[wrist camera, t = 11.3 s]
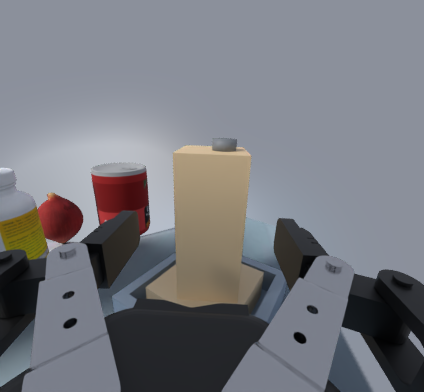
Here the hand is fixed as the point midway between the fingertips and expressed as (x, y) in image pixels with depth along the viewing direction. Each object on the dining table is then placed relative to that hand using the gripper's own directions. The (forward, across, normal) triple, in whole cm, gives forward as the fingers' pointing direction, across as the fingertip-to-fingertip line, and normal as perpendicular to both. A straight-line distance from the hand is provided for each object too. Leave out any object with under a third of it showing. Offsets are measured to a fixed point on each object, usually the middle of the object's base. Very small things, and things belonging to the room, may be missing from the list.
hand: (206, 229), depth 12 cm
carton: (+5, 0, +8) cm, 10 cm away
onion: (+16, +22, +12) cm, 30 cm away
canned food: (+21, +15, +12) cm, 29 cm away
